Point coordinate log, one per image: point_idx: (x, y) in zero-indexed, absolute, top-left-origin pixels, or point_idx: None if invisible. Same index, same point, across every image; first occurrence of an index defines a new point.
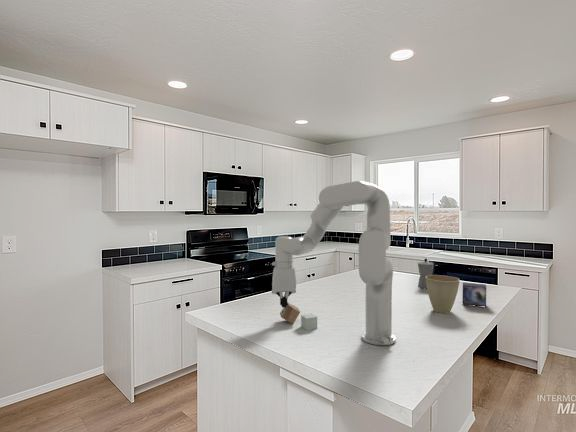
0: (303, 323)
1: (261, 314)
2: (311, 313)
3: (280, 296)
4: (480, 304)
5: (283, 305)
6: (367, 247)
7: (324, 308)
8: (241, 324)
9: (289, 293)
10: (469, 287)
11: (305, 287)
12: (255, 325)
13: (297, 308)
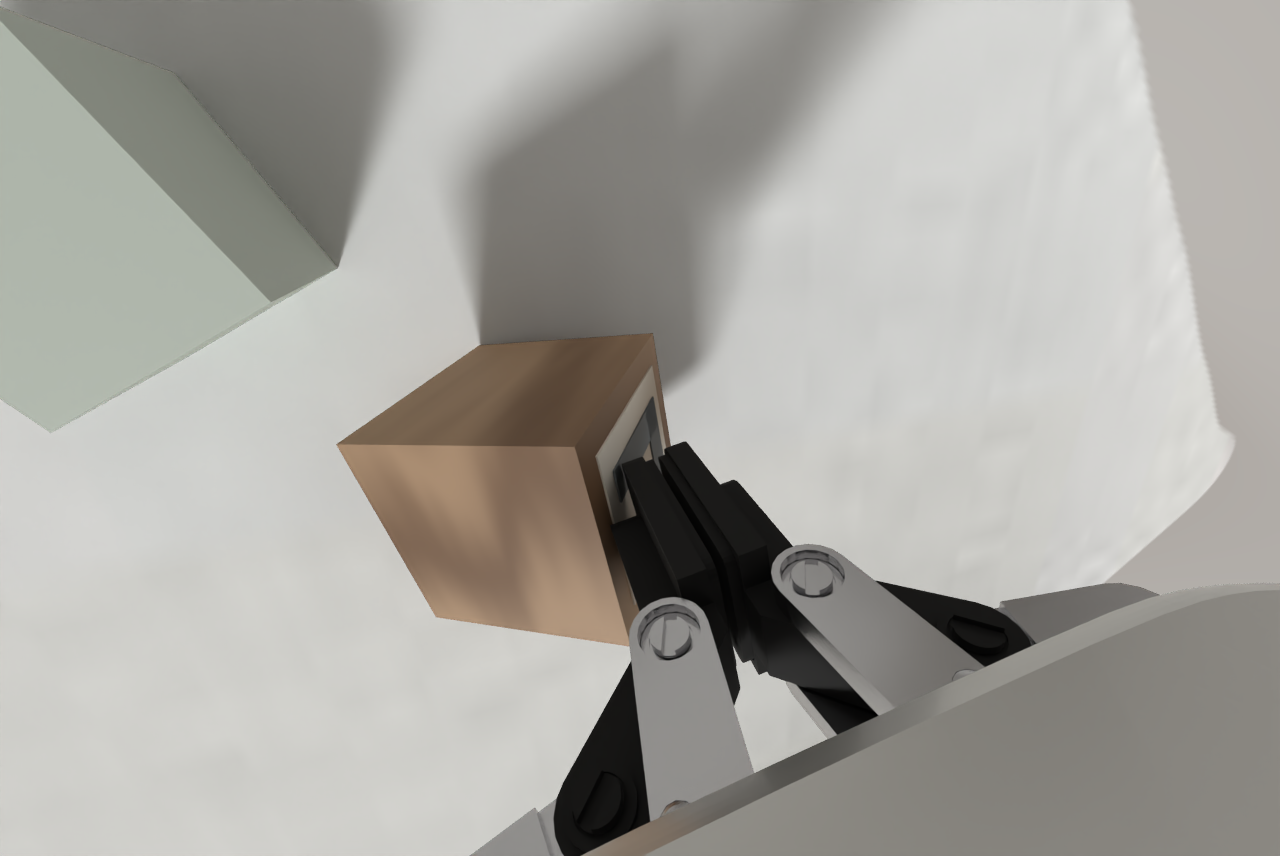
0: (237, 189)
1: None
2: (51, 430)
3: (851, 573)
4: None
5: (679, 461)
6: None
7: (231, 847)
8: (1001, 283)
9: (620, 776)
10: None
11: None
12: (890, 264)
13: (434, 583)
